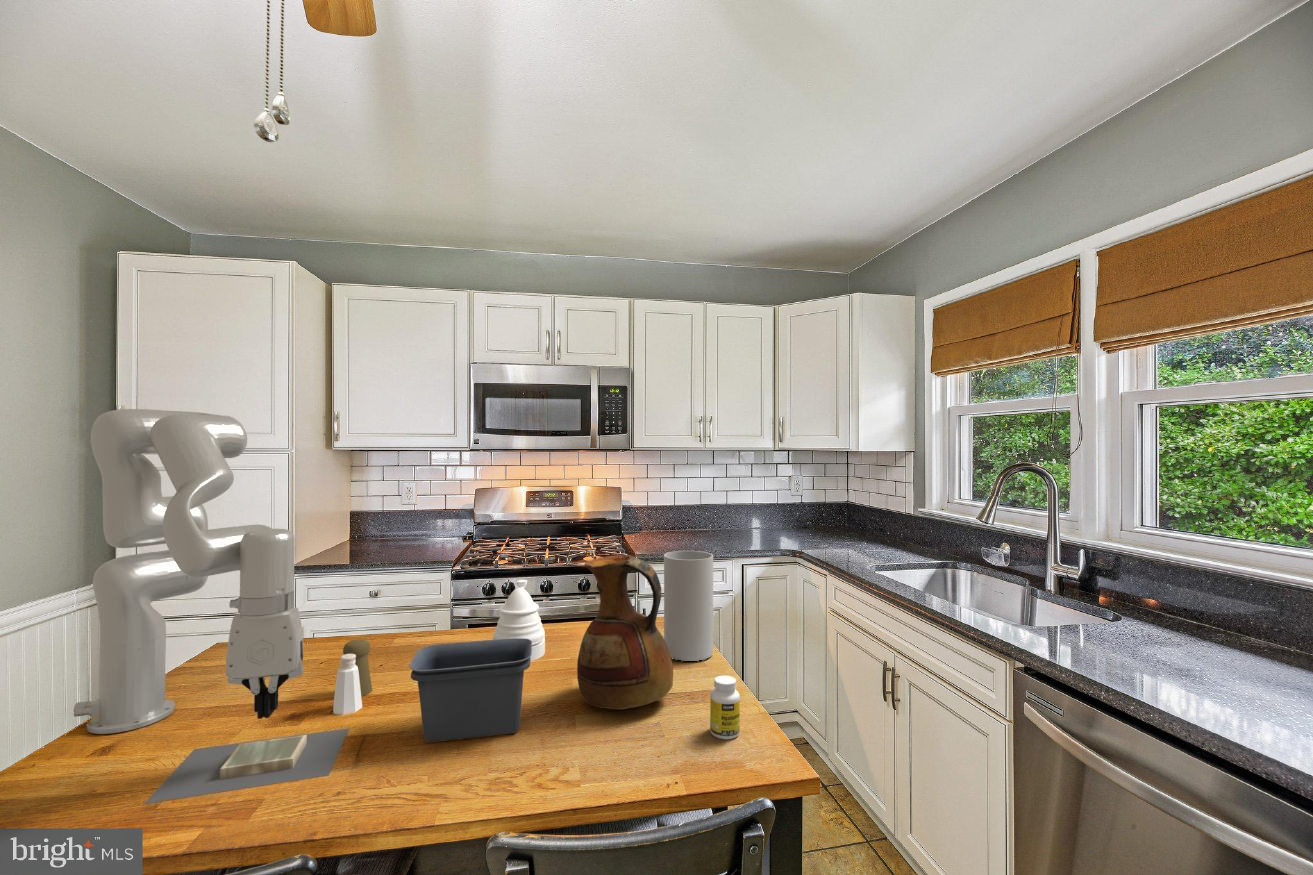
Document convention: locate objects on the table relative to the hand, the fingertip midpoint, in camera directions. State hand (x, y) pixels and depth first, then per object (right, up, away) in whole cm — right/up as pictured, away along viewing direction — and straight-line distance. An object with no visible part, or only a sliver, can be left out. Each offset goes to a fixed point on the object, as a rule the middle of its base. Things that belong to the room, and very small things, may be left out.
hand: (266, 714), depth 95 cm
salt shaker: (+3, -9, +19) cm, 21 cm away
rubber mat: (-1, -8, 0) cm, 8 cm away
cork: (+1, -9, +27) cm, 29 cm away
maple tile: (-5, -7, -2) cm, 8 cm away
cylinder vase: (+73, -9, +50) cm, 89 cm away
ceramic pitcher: (+58, -9, +24) cm, 64 cm away
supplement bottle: (+78, -8, +10) cm, 79 cm away
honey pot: (+30, -9, +50) cm, 59 cm away
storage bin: (+30, -9, +13) cm, 34 cm away
